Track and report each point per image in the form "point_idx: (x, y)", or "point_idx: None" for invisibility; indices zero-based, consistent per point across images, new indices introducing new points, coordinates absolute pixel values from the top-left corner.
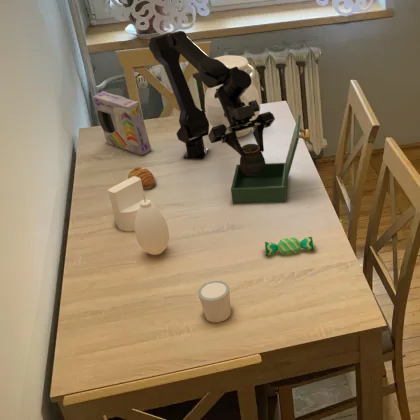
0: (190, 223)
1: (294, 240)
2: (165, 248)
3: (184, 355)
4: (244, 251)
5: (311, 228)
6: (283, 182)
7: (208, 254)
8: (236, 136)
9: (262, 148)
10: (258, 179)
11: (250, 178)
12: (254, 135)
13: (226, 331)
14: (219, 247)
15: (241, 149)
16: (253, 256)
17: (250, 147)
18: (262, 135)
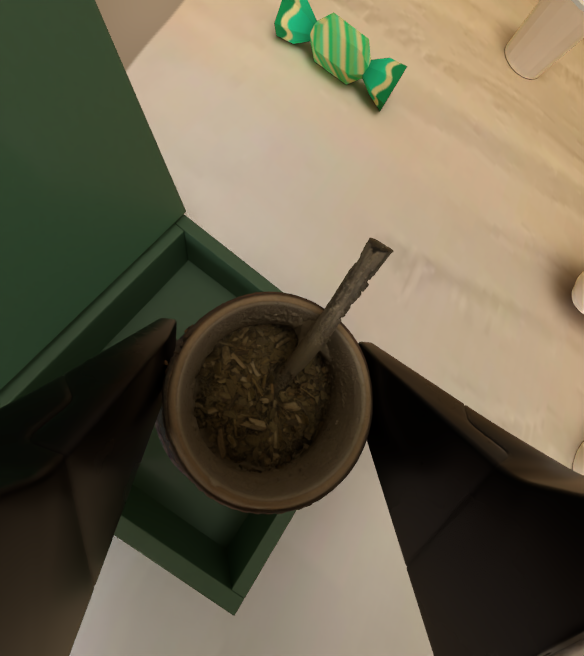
0: (488, 364)
1: (335, 18)
2: (581, 273)
3: (580, 42)
4: (419, 152)
5: (223, 85)
6: (165, 229)
7: (489, 207)
8: (556, 488)
9: (165, 324)
10: (168, 474)
11: (193, 510)
12: (67, 633)
13: None
14: (460, 210)
15: (403, 372)
16: (410, 123)
17: (231, 471)
18: (17, 402)
